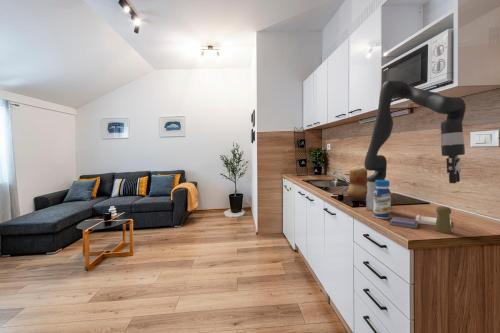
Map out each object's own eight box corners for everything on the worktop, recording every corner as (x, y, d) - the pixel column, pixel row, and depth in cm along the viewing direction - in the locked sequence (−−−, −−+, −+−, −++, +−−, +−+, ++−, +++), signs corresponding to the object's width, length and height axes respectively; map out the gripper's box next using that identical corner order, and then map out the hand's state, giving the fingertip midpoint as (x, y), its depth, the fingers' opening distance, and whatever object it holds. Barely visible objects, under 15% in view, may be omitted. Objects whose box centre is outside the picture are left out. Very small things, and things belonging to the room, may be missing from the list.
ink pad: (389, 224, 117) (389, 220, 117) (392, 219, 125) (392, 216, 125) (416, 228, 110) (416, 224, 110) (418, 223, 118) (418, 219, 118)
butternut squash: (349, 203, 165) (349, 167, 164) (345, 199, 178) (346, 165, 177) (371, 203, 162) (371, 167, 161) (366, 199, 175) (366, 165, 174)
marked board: (414, 222, 120) (414, 220, 120) (416, 217, 129) (416, 215, 129) (451, 227, 111) (451, 225, 111) (450, 221, 120) (450, 219, 120)
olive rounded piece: (433, 231, 107) (433, 206, 106) (435, 228, 111) (436, 204, 110) (450, 234, 103) (451, 209, 102) (452, 230, 107) (453, 206, 106)
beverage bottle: (389, 215, 133) (389, 179, 132) (392, 219, 125) (392, 181, 124) (372, 214, 136) (372, 179, 135) (373, 218, 128) (374, 181, 127)
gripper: (444, 145, 109) (446, 181, 109) (437, 144, 100) (439, 183, 99) (466, 144, 104) (469, 181, 103) (461, 142, 94) (464, 183, 94)
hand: (454, 182), depth 101 cm, fingers open, 8 cm apart
